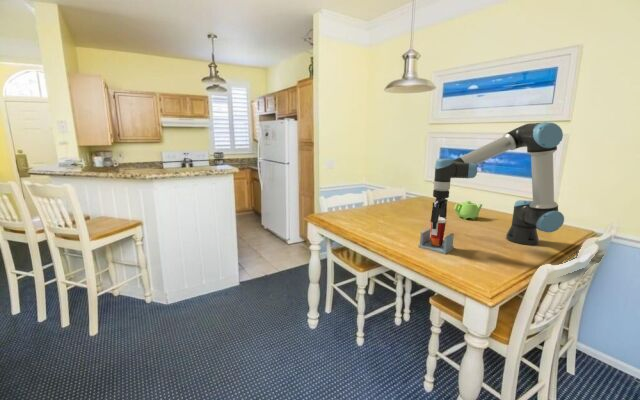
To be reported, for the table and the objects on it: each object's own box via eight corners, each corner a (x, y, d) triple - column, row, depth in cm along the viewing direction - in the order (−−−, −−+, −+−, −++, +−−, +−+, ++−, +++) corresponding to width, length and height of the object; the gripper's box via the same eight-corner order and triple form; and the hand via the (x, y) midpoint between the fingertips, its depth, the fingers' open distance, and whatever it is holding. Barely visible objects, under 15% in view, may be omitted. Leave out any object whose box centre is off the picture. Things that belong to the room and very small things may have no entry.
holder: (453, 247, 156) (455, 233, 155) (445, 254, 147) (446, 238, 146) (427, 241, 165) (428, 227, 164) (418, 247, 157) (419, 232, 155)
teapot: (475, 215, 222) (477, 199, 220) (485, 220, 209) (488, 203, 207) (449, 215, 221) (450, 199, 219) (458, 220, 208) (460, 203, 206)
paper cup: (440, 241, 160) (442, 216, 157) (446, 246, 152) (449, 220, 150) (426, 241, 160) (428, 216, 157) (431, 246, 152) (434, 220, 149)
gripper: (441, 186, 160) (437, 227, 165) (425, 191, 145) (422, 235, 150) (456, 188, 155) (451, 230, 160) (441, 193, 140) (436, 239, 145)
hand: (437, 232), depth 155 cm, fingers closed on paper cup, 8 cm apart
